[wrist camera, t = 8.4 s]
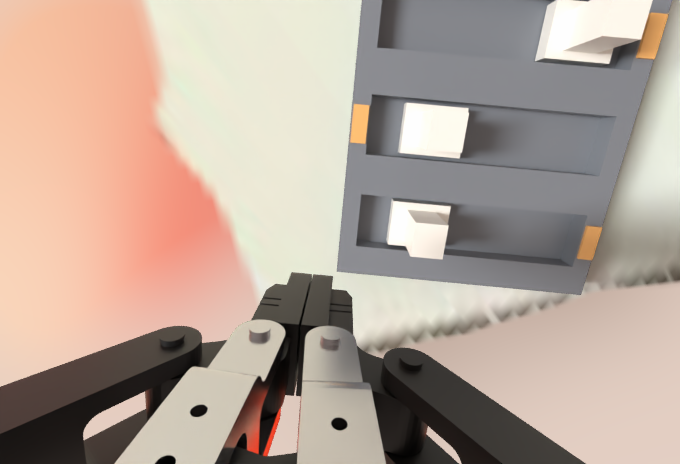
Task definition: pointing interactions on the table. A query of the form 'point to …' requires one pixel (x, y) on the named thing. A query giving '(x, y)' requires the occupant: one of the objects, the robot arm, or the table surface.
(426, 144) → the tab
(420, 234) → the tab
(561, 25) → the tab
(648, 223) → the table surface
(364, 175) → the switch bank
